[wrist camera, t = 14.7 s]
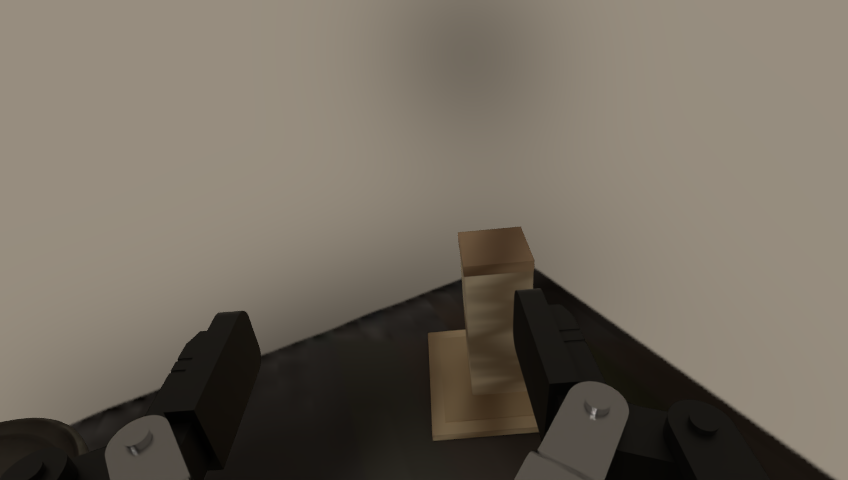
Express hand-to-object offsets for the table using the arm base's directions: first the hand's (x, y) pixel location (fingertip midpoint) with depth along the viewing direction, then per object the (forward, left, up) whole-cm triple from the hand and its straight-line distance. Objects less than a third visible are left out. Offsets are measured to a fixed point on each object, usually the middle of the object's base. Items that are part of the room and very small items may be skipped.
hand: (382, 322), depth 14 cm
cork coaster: (+6, +16, -20) cm, 27 cm away
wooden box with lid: (+6, +16, -20) cm, 26 cm away
